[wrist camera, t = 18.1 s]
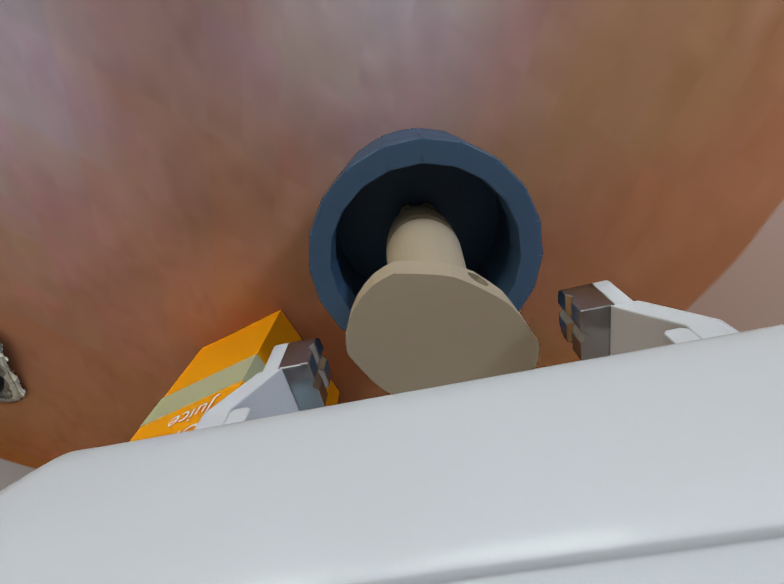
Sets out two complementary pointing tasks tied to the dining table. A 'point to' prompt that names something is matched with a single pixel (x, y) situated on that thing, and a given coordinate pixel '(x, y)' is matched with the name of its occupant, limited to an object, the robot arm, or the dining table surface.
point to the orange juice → (220, 376)
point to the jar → (414, 187)
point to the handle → (433, 314)
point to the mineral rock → (9, 382)
